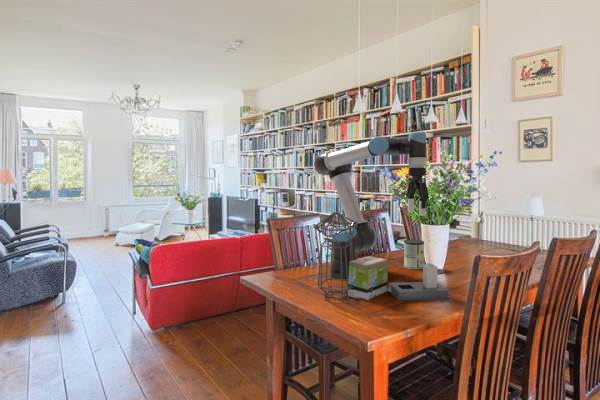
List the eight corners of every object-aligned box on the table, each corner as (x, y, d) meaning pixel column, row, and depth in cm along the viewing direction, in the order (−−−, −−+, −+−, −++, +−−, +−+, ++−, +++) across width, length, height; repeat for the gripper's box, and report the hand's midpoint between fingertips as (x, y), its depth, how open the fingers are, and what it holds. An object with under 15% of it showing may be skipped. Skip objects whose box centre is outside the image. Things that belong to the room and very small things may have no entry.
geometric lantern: (359, 291, 160) (359, 210, 157) (349, 304, 146) (349, 215, 143) (324, 287, 167) (324, 209, 163) (311, 299, 152) (310, 213, 149)
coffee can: (405, 263, 209) (405, 238, 208) (424, 265, 205) (425, 240, 204) (402, 268, 200) (402, 241, 199) (422, 270, 195) (422, 243, 194)
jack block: (398, 303, 146) (398, 291, 146) (389, 293, 158) (389, 282, 158) (448, 301, 148) (448, 290, 147) (435, 291, 160) (435, 281, 159)
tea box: (368, 302, 147) (369, 265, 146) (347, 296, 154) (347, 261, 153) (387, 293, 158) (388, 258, 157) (367, 288, 165) (368, 254, 164)
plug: (426, 296, 151) (427, 265, 150) (422, 293, 155) (423, 262, 154) (436, 296, 151) (437, 265, 150) (432, 292, 156) (432, 262, 155)
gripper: (437, 166, 157) (436, 217, 159) (414, 167, 182) (414, 211, 184) (420, 166, 157) (419, 217, 158) (399, 167, 182) (399, 211, 183)
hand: (416, 214), depth 171 cm, fingers open, 13 cm apart
